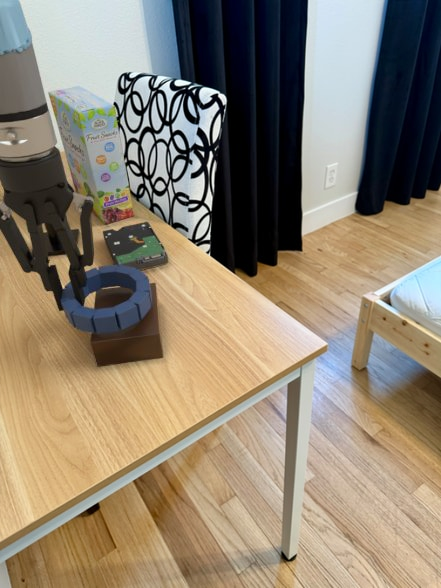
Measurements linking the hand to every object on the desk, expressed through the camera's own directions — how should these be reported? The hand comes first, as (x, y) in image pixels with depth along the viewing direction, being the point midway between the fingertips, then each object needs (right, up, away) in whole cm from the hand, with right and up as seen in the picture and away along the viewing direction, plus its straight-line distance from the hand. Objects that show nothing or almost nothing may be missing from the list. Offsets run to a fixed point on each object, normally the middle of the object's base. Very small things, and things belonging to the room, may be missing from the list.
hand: (72, 303), depth 65 cm
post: (-13, +12, +28) cm, 34 cm away
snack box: (-7, +24, +43) cm, 50 cm away
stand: (+8, -5, +5) cm, 11 cm away
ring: (+5, 0, +1) cm, 5 cm away
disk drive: (+5, +10, +25) cm, 28 cm away
